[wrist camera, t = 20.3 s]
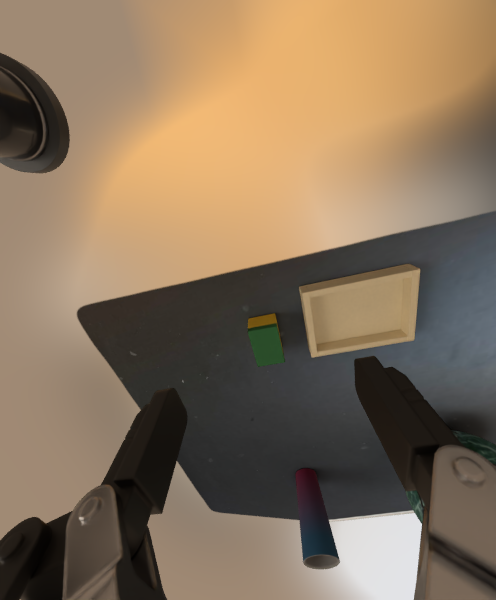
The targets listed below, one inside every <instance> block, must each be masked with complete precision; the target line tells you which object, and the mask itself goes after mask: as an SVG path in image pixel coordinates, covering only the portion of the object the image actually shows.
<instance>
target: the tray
mask: <svg viewBox="0 0 496 600" xmlns="http://www.w3.org/2000/svg"><path fill="white" fill-rule="evenodd" d="M419 278H420V269H419V268H417V267H415V266H413V265H410V264H404V265H400V266H395V267H390V268H385V269H381V270H376V271H371V272H366V273H362V274H357V275H352V276H347V277H342V278H338V279H333V280H328V281H323V282H319V283H314V284H309V285H304V286H300V287H299V290H300V297H301V303H302V309H303V316H304V322H305V328H306V334H307V341H308V347H309V350H310V353H311V356H312V357H318V356H324V355H330V354H335V353H341V352H347V351H353V350H359V349H365V348H371V347H377V346H383V345H389V344H395V343H400V342H406V341H413V340H414V338H415V326H416V314H417V302H418V290H419Z"/></svg>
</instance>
